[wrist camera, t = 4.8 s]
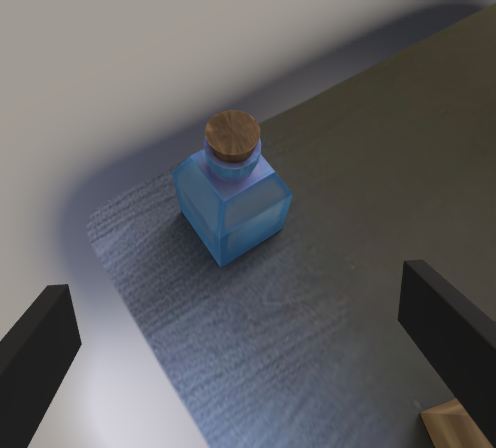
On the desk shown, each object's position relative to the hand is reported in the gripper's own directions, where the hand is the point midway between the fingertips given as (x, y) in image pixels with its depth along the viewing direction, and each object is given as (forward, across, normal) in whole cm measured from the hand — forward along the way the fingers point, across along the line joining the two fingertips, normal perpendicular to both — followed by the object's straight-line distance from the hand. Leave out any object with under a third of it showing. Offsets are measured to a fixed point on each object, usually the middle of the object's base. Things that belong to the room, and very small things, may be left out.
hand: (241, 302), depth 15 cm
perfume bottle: (+18, 0, -3) cm, 18 cm away
